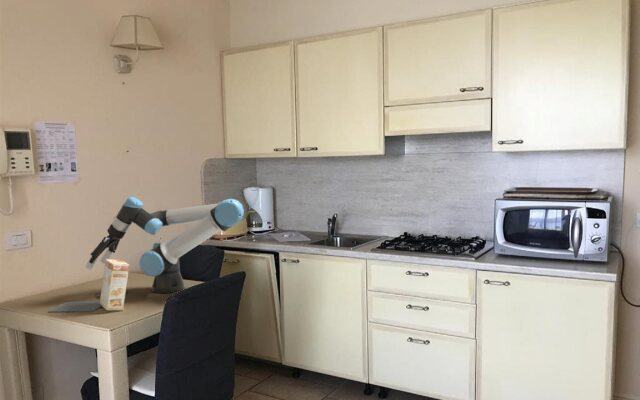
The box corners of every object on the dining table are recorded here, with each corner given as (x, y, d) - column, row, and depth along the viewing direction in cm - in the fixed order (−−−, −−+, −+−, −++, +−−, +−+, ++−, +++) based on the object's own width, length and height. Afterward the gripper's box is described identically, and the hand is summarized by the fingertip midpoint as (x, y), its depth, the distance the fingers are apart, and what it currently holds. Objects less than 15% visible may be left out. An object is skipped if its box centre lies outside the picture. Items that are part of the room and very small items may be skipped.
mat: (110, 301, 232) (110, 300, 232) (94, 311, 217) (93, 310, 217) (67, 302, 233) (67, 301, 233) (48, 312, 219) (48, 311, 218)
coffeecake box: (123, 310, 218) (130, 264, 218) (105, 310, 214) (112, 263, 214) (115, 303, 230) (122, 259, 231) (98, 302, 226) (105, 258, 227)
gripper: (124, 220, 249) (102, 255, 252) (98, 226, 225) (74, 266, 227) (137, 228, 249) (114, 264, 251) (112, 236, 224) (88, 275, 227)
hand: (95, 265), depth 239 cm, fingers open, 13 cm apart
